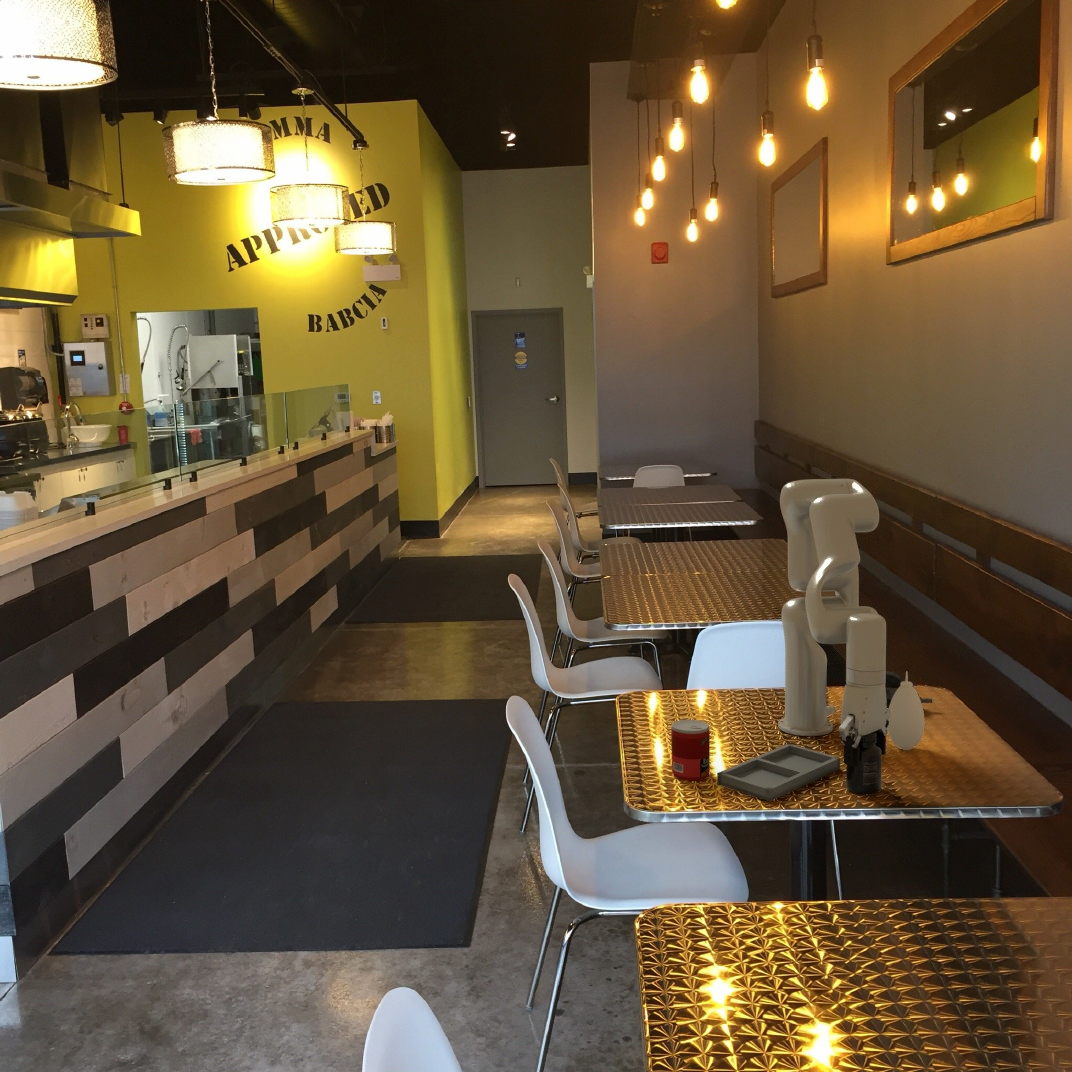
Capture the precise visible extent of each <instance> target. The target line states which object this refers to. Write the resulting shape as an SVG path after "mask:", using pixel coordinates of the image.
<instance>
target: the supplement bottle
mask: <svg viewBox="0 0 1072 1072" xmlns="http://www.w3.org/2000/svg"><path fill="white" fill-rule="evenodd" d="M853 731H857V730H853ZM857 732H858V731H857ZM851 737H852V739H853V740H854V738H855V736H854V735H851ZM876 742H877V739H876V732H875V731H874V732H872V733H870V734H867V735H865V736H861V738H860V741H859V743H858V746H857V747H860V760H859V766H858V767H854V766H850V765H846V764H845V767H846V768H845V777H846V781H845V784H846V785H845V786H846V789H847V791H849V790H850V792H851V791H852V792H851V793H853V792H855V793H854V794H856V793H857V795H861V794H864V796H870V795H869V794H872V795H876V794H878V793H879V792H881V791H882V772H883V771H882V766H883V765H882V763H883V762H882V757H883V755H882V751H881V748H880V747H879V746H878V745H877V744H875V743H876ZM866 794H868V795H866Z"/></svg>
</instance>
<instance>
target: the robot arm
mask: <svg viewBox="0 0 1072 1072" xmlns="http://www.w3.org/2000/svg"><path fill="white" fill-rule="evenodd" d="M780 491H781V492H780V495H779V506H780V507H779V508H780V510H781V512H780V513H781V515H782V518H783V521H784V524H785V528H786V532H787V533H786V534H787V576H788V577H787V579H788V583H789V586H790V587H791V589H793V591H796V592H801V593H802V592H803V593H805V597H804V596H803V597H802V596H801V597H796V598H791V599H789V600H788V601H786V602H785V603H784V604H783V606H782V608H781V624H782V629H783V637H784V652H785V654H784V655H785V657H784V661H785V662H784V663H785V665H784V666H785V668H784V673H785V674H784V680H785V681H784V717H782V718H781V719H780V720H778V722H777V724H778V725H777V727H778V729H779V730H781V731H782V732H784V733H787V734H790V735H794V736H800V737H802V736H803V737H818V736H823V735H824V736H825V735H827V734H830V733H831V732H833V729H834V725H833V723H832V722H831V721H830V720H828V717H829V715H831V714H834V713H836V712H835V711H836V707H835V706H834V705H832V704H831V705H827V684H828V683H827V682H828V681H827V677H828V676H827V674H828V673H827V672H828V671H827V670H828V669H827V665H828V664H827V663H828V658H827V654H826V651H824V649H823V648H822V647H821V646H820V645H821V644H822V645H838V644H840V645H841V644H845V645H846V648H845V649H846V651H845V653H846V654H845V656H846V657H845V659H846V660H845V661H846V663H845V682H846V684H845V685H844V688H843V689H844V690H843V695H842V699H841V700H842V702H841V714H840V715H841V717H840V718H841V719H840V726H839V727H838V732H839V736H840V737H839V738H840V740H841V744H842V745H843V763H844V765H845V766H846V765H850V766H854V767H858V766H859V760H860V747H857V746H858V743H859V741H860V738H861V736H865V735H867V734H870V733H872V732H874V731H875V732H876V739H877V742H876V743H875V744H877V745H878V746H879V747H880V748H881V751H882V756H885V755H886V754H887V753H886V752H887V734H888V725H889V721H888V720H889V717H890V714H891V711H890V710H889V709H887V701H886V689H885V682H886V671H887V670H886V664H887V663H886V662H887V661H886V660H887V659H886V657H887V622H886V618H885V617H883V616H882V615H880V614H879V613H878V612H877V610H876V609H875V608H873V607H872V606H871V607H870V606H866V605H864V606H863V605H861V606H860V605H859V601H860V600H859V599H860V597H859V595H860V594H859V593H860V591H859V590H860V589H859V588H860V585H859V584H860V577H859V576H860V575H859V574H860V573H859V567H858V566H859V564H860V563H861V556H860V550H859V547H858V546H859V545H858V542H857V537H856V533H869V532H873V531H874V530H876V529H877V527H878V525H879V522H880V511H879V510H880V509H879V506H878V504H877V503H878V502H877V501H876V499H875V498H874V496H873V495H872V493H871V492H870V491H869V490H868V489H867V488H866V487H864V486H863V485H862V484H861V483H860V482H859V481H857V480H855V479H853V478H852V479H851V478H826V479H823V478H818V479H816V478H814V479H812V478H811V479H799V480H793V481H790V482H787V483H786V484H784V485H783V486H782V488H781V490H780ZM822 592H835V593H834V594H835V596H831V595H830V596H822ZM819 644H820V645H819ZM853 730H857V731H858V732H857V731H853ZM852 735H854V736H855V738H854V740H853V739H852Z"/></svg>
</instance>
